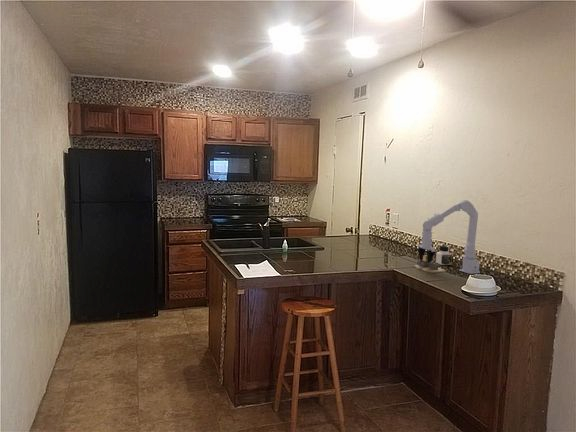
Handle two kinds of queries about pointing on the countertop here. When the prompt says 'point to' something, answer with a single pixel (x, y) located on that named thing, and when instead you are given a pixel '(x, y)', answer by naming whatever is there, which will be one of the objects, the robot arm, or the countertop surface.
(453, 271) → the countertop surface
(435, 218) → the robot arm
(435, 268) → the manifold board
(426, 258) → the brass fitting
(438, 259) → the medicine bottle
